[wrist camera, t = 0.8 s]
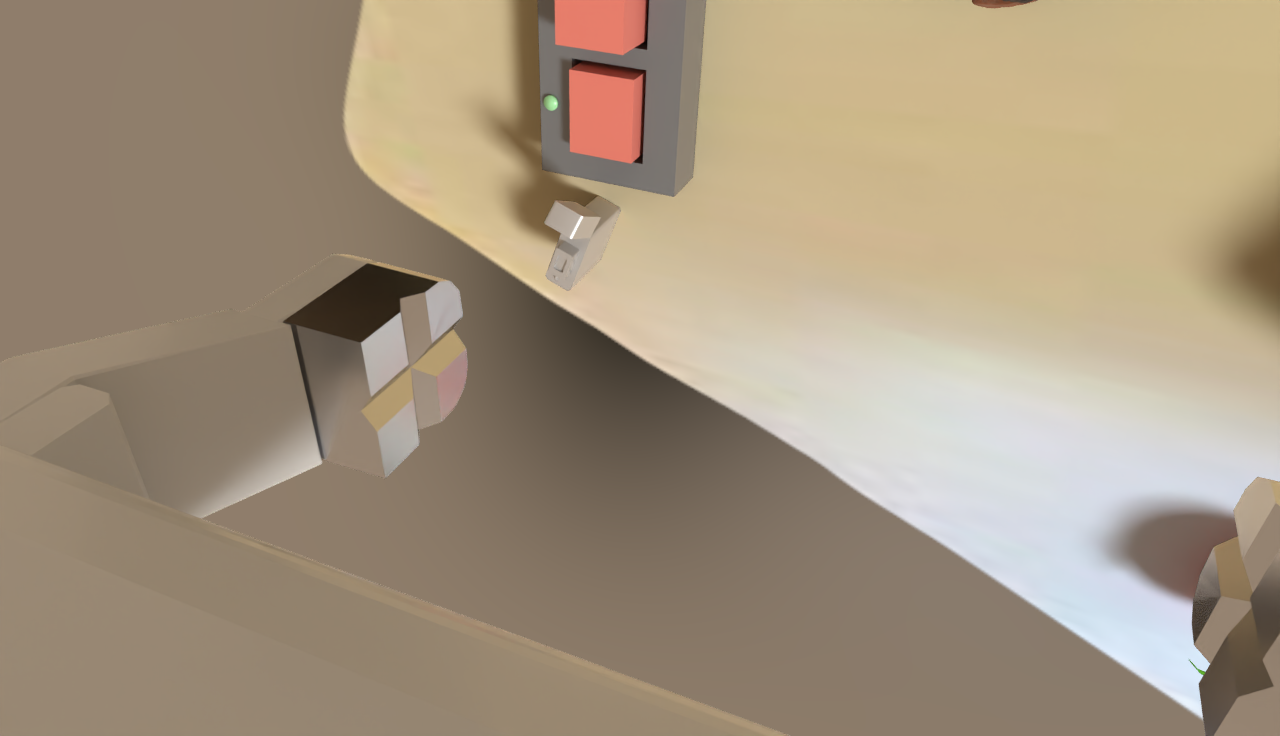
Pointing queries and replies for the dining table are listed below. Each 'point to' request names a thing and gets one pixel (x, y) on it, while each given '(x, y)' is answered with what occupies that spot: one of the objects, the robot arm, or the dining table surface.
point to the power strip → (667, 98)
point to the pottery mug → (1000, 3)
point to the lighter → (579, 238)
